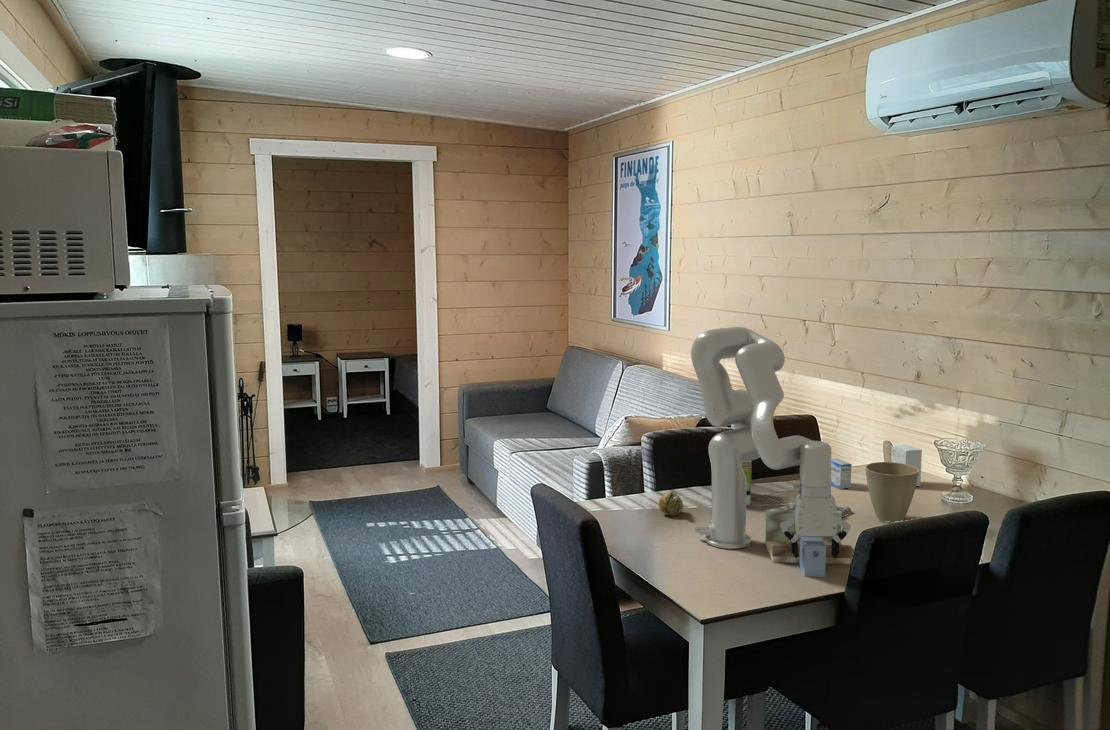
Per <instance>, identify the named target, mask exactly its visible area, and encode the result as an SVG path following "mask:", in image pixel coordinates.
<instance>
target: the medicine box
mask: <svg viewBox="0 0 1110 730" xmlns="http://www.w3.org/2000/svg"><path fill="white" fill-rule="evenodd" d="M852 466H853V465H852V464H851V463H850V462H846V461H844V460H841V459H839V458H831V487H834V488H836V489H838V488H839V489H838V490H845V489H844V488H848V489H851V486H852V485H851V483H852Z"/></svg>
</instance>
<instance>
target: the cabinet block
mask: <svg viewBox="0 0 1110 730" xmlns="http://www.w3.org/2000/svg"><path fill="white" fill-rule="evenodd" d="M826 565H827V563H826V545H825V544H824V542H823V540H822V539H821V537H801V536H800V562H799V567H800V570H801V572H802V575H803V576H804V577H816V578H817V577H819V578H821V577H822V578H826Z"/></svg>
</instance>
